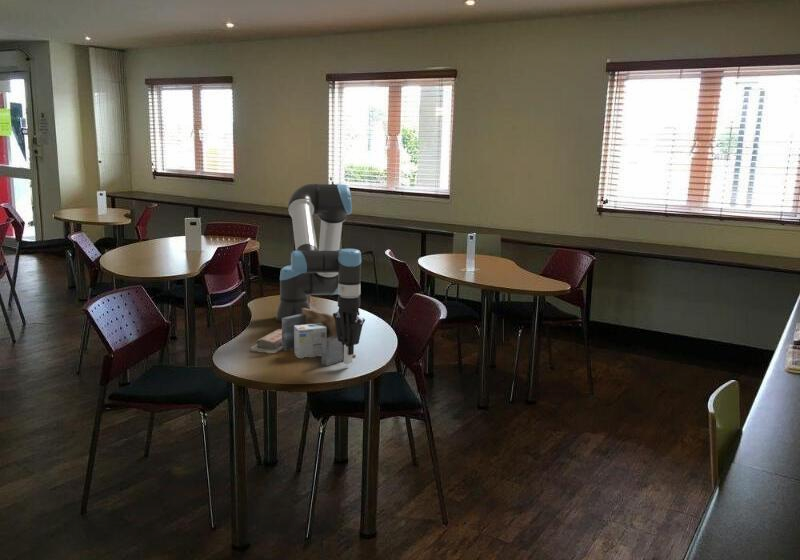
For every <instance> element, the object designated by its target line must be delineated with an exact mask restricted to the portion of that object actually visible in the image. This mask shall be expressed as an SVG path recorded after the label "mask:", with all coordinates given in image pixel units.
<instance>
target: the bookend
mask: <svg viewBox="0 0 800 560" xmlns="http://www.w3.org/2000/svg"><path fill="white" fill-rule="evenodd" d="M341 362H344V358H343V344H342V342H341V341H340V342H339V341H338V337H337V335H335V336H332V337H328V338H325V339H322V356H321V365H322V366H325V367H328V366H331V365H335V364H337V363H341Z"/></svg>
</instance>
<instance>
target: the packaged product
mask: <svg viewBox="0 0 800 560" xmlns="http://www.w3.org/2000/svg"><path fill="white" fill-rule="evenodd" d="M281 349H282V328H277V329H276V330H274V331H272V332H270V333H268V334H266V335H264V336H263V337H260V338H259V339H257V343H256V344H255V345H252V346H251V347H250V351H252V352H256V351H257V352H258V353H263V352H266V353H265V354H271V353H276V354H277V353H279V352H280V351H282V350H281ZM278 351H279V352H278Z"/></svg>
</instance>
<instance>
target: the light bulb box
mask: <svg viewBox="0 0 800 560" xmlns="http://www.w3.org/2000/svg"><path fill="white" fill-rule="evenodd" d="M325 338H327V327H326V326H324V325H323V324H322V323H317V324H306V325H294V349H293V351H294V352H293V353H295V354H294V356H296V357H297V359H298V358H300V359H305V358H304V357H309V358H317V357H316V356H319V357H322V339H325Z"/></svg>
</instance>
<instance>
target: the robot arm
mask: <svg viewBox="0 0 800 560" xmlns="http://www.w3.org/2000/svg"><path fill="white" fill-rule="evenodd" d="M351 195H352V193H351V189H350V186H348V185H346V184H340V183H337V184H332V183H331V184H330V183H307V184H304V185H302V186H299V188H297V189H296V190H295V191H294V192H293V193H292V194H291V195H290V198H289V199H288V204H287V209H288V214H289V216H290V217H291V219H292V220H291V221H292V229H293V239H294V246H295V247H294V248H295V249H294V250H293V251H291V252H290V265H286V266H284V267H282V268H281V269H280V272H279V273H280V275H279V305H278V308H277V311H276V313H275V320H276V321H278V322H280V323H282V318H285V317H289V316H293V315H298V314H302V308H306V309H310V310H311V308H310V305H309V302H308V300H309V299H308V296H332V295H333V296H334V295H338V296H337V307H338V310H337V311H336V312H333V313H332V315H333V317H334V319H335V324H336V330H337V337H338V341H339V342H340V341H341V342H342V344H343V353H344V358H343V364H344V365H349V364H353V359H352V354H355V353H354V352H355V350H354V347H355V345H358V344H359V343H360V340H361V339H360V338H361V333H362V330H363V326H364V323H365V321H366V319H365V318H362V316H361V315H360V310H359V309H360V307H361V294H362V293H361V292H362V291H361V281H362V280H361V278H362V274H361V273H362V252H361V251H360V250H359V249H356V248H341V238H342V230H343V223H344V222H345V221H346V220H347V217H348V216H349V215H352V213H353V205H352V204H353V203H352V196H351ZM313 215H317V217H318V218H319V220H320V231H319V243H318V245H317V237H316V231H315V223H314V218H313V217H314V216H313Z"/></svg>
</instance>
